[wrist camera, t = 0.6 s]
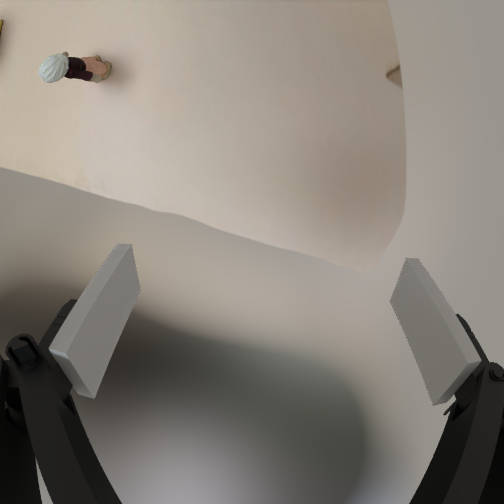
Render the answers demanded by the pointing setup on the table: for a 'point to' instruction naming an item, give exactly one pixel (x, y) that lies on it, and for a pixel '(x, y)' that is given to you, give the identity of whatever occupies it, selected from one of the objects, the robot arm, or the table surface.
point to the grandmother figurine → (73, 68)
